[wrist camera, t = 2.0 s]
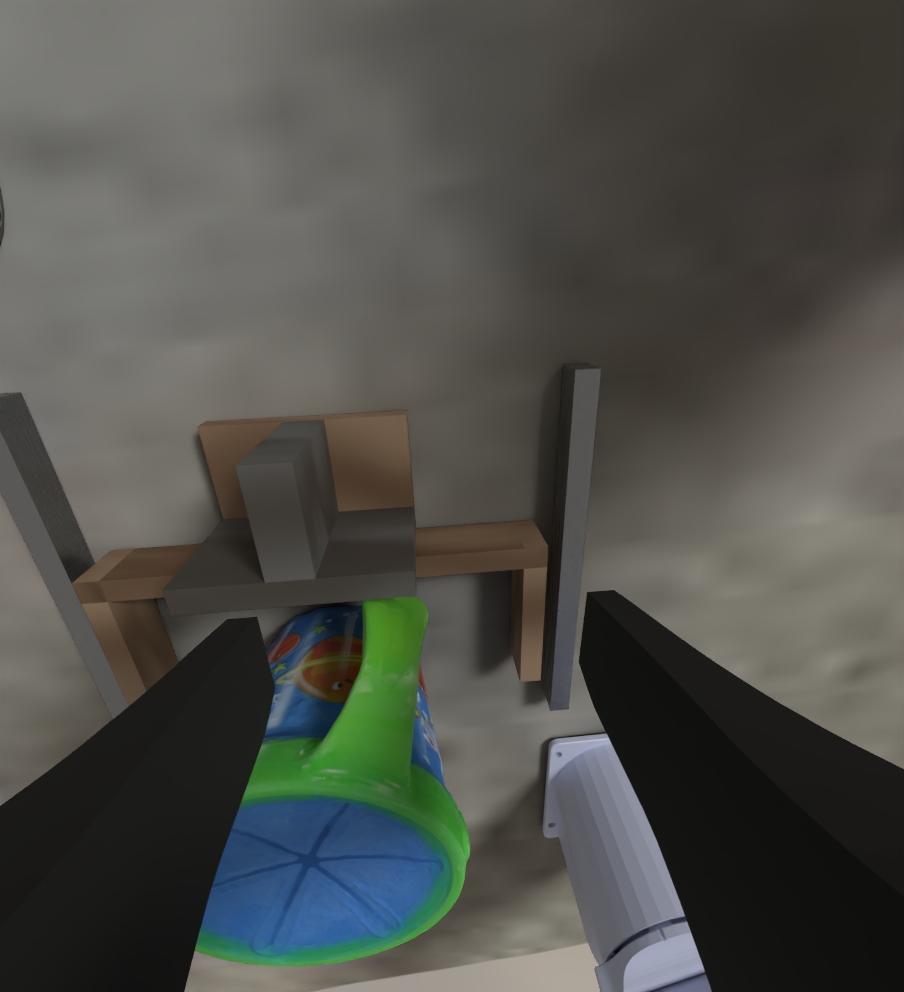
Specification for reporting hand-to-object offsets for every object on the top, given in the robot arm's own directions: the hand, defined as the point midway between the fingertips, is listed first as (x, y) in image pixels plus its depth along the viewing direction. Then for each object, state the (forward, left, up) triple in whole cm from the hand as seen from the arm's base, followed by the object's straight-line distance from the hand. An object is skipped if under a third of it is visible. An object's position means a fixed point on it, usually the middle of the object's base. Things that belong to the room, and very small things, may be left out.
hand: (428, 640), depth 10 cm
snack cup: (-10, +5, -11) cm, 15 cm away
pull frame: (-4, +4, -10) cm, 12 cm away
